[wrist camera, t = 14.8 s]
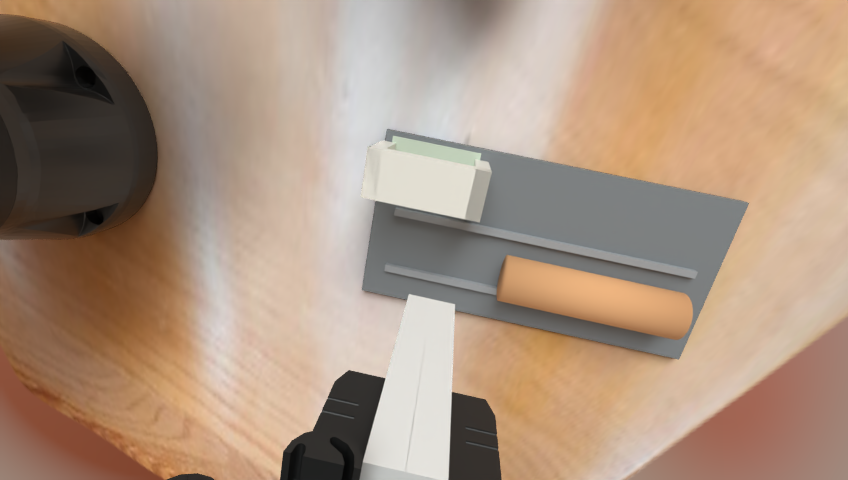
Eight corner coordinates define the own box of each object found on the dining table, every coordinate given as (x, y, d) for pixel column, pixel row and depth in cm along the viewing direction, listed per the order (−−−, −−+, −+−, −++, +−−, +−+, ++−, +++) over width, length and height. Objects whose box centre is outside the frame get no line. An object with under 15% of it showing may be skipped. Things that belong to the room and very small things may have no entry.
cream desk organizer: (382, 140, 29) (367, 146, 24) (488, 161, 28) (491, 172, 24) (376, 183, 30) (360, 197, 25) (478, 205, 29) (479, 222, 25)
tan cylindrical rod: (497, 275, 31) (495, 310, 29) (509, 245, 29) (507, 279, 27) (660, 311, 31) (671, 349, 29) (684, 283, 29) (698, 321, 26)
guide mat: (363, 286, 33) (360, 292, 32) (388, 129, 29) (385, 130, 28) (675, 354, 32) (681, 362, 31) (743, 201, 28) (752, 204, 27)
